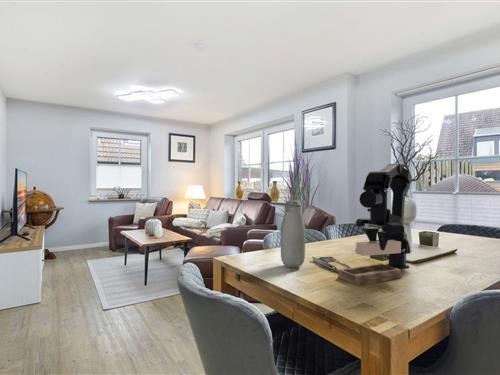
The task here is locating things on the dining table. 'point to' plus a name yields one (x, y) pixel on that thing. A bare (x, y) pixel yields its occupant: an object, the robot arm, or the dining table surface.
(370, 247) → the pale pink bar
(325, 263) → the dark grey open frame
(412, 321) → the dining table surface
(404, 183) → the robot arm
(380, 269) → the brown wooden tray
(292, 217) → the grey vase
